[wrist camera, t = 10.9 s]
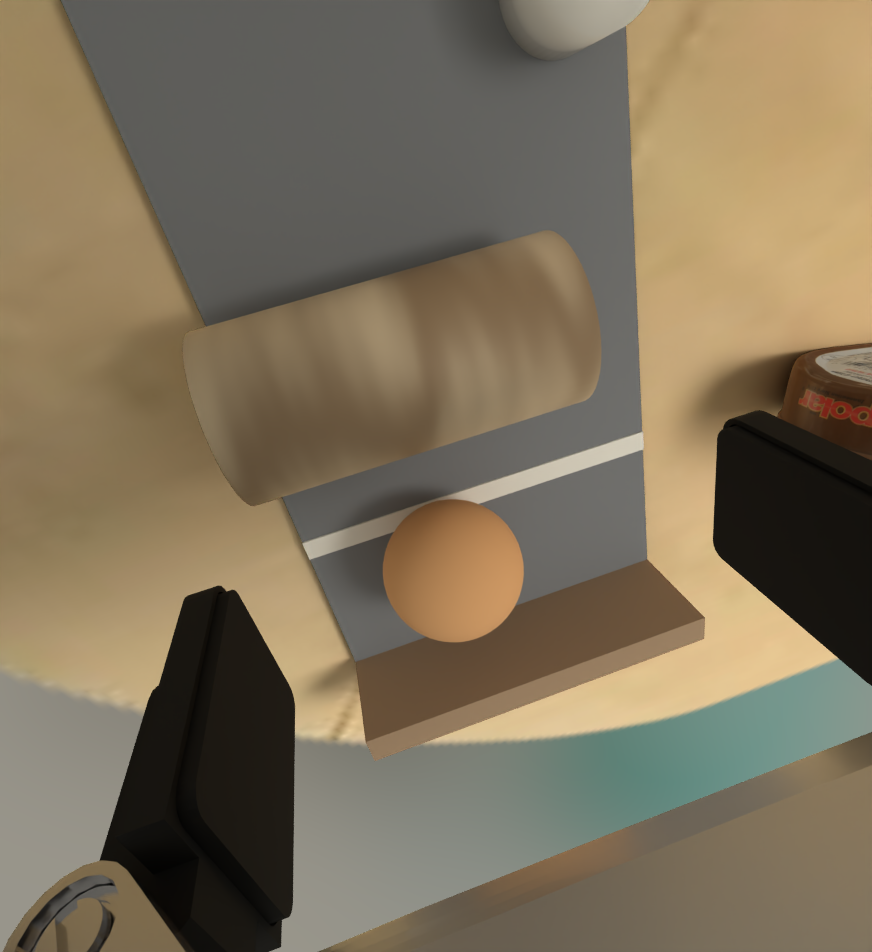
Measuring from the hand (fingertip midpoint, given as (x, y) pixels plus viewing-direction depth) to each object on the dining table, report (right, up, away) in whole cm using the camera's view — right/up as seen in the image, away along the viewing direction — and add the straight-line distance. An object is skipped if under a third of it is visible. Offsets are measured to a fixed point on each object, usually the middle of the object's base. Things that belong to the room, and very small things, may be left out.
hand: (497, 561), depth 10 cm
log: (-3, +6, +8) cm, 10 cm away
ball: (-1, -2, +9) cm, 9 cm away
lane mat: (-1, +5, +9) cm, 10 cm away
